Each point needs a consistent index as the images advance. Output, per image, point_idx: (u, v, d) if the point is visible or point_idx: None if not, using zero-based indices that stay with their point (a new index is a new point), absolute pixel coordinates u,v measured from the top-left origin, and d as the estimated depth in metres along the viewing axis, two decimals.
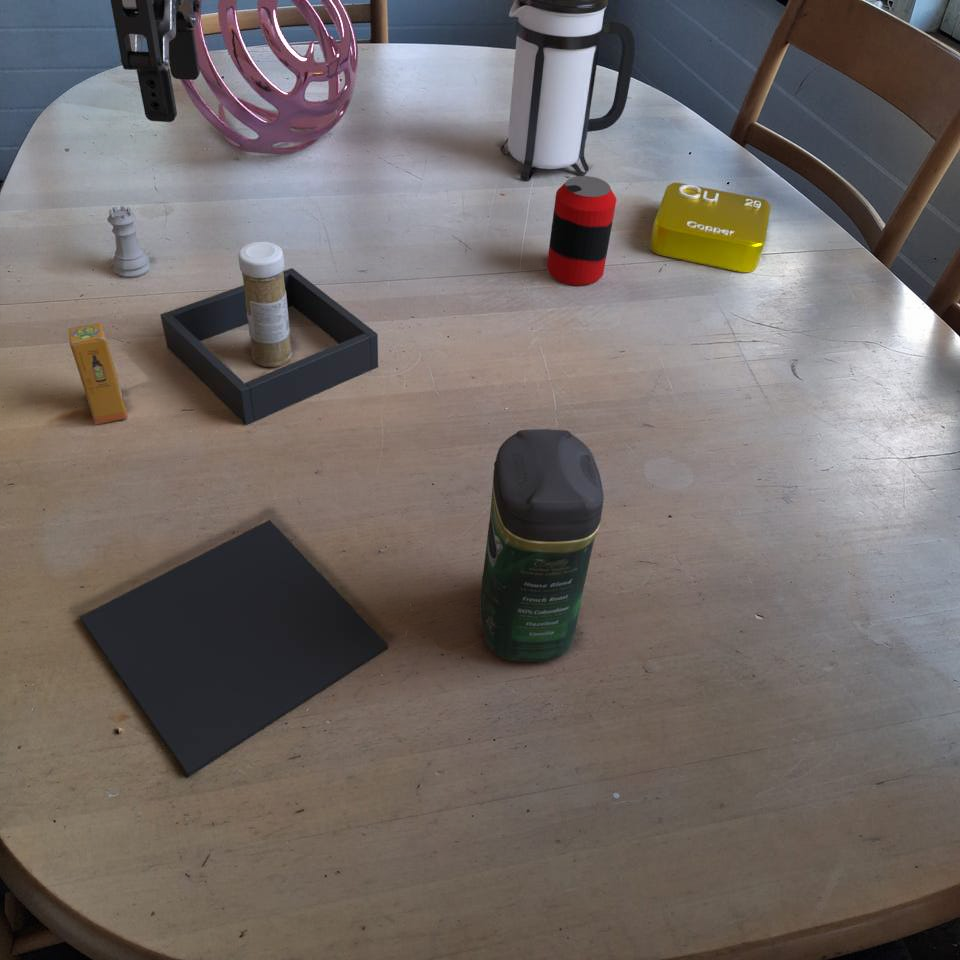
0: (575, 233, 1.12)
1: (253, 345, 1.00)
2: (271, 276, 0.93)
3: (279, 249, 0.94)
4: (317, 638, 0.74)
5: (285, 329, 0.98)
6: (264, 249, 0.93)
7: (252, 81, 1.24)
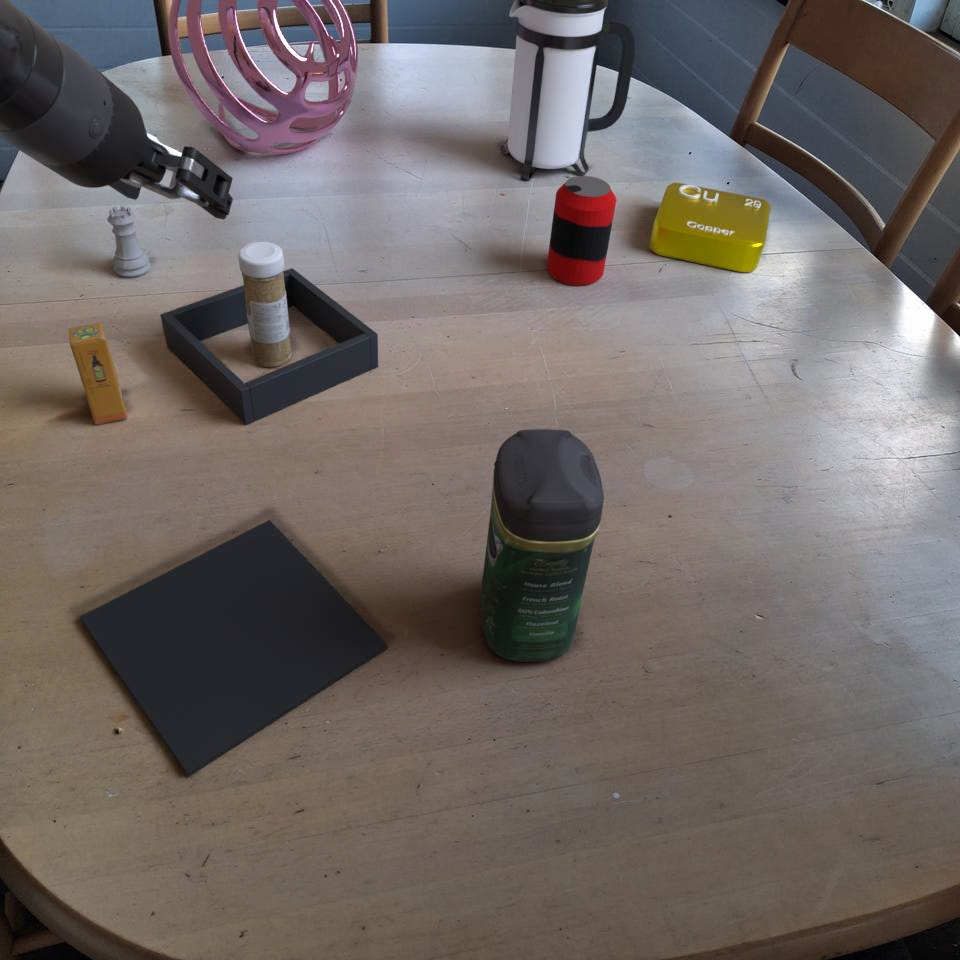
0: (575, 233, 1.12)
1: (253, 345, 1.00)
2: (271, 276, 0.93)
3: (279, 249, 0.94)
4: (317, 638, 0.74)
5: (285, 329, 0.98)
6: (264, 249, 0.93)
7: (252, 81, 1.24)
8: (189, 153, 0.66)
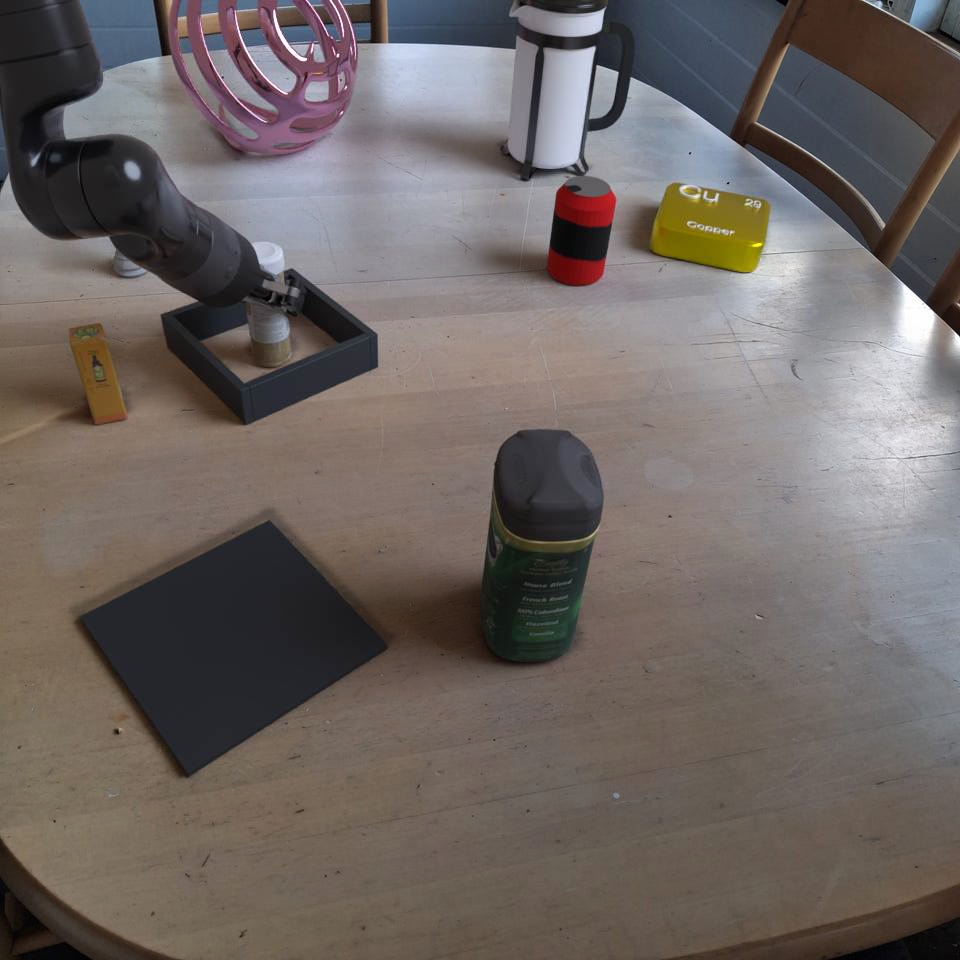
0: (575, 233, 1.12)
1: (253, 345, 1.00)
2: None
3: (279, 249, 0.94)
4: (317, 638, 0.74)
5: (285, 329, 0.98)
6: (264, 249, 0.93)
7: (252, 81, 1.24)
8: (296, 284, 0.88)
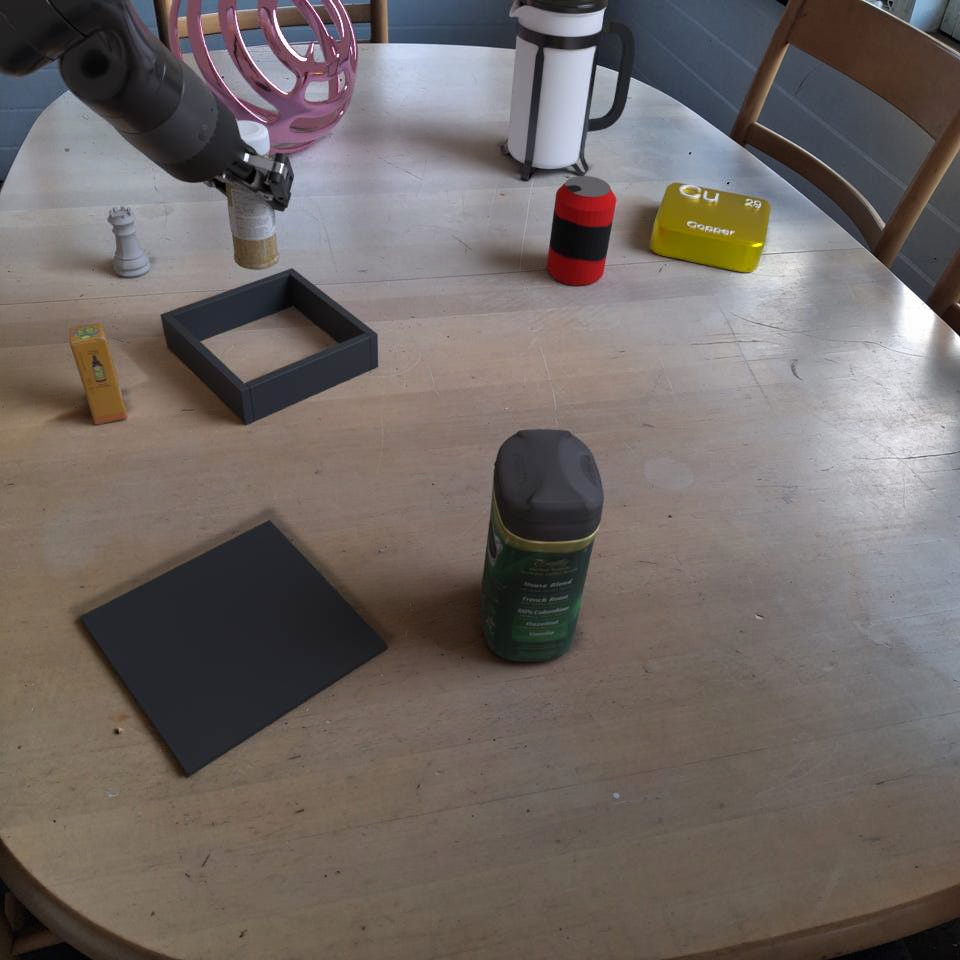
0: (575, 233, 1.12)
1: (235, 244, 0.89)
2: None
3: (264, 127, 0.83)
4: (317, 638, 0.74)
5: (271, 224, 0.87)
6: (246, 127, 0.82)
7: (252, 81, 1.24)
8: (282, 159, 0.77)
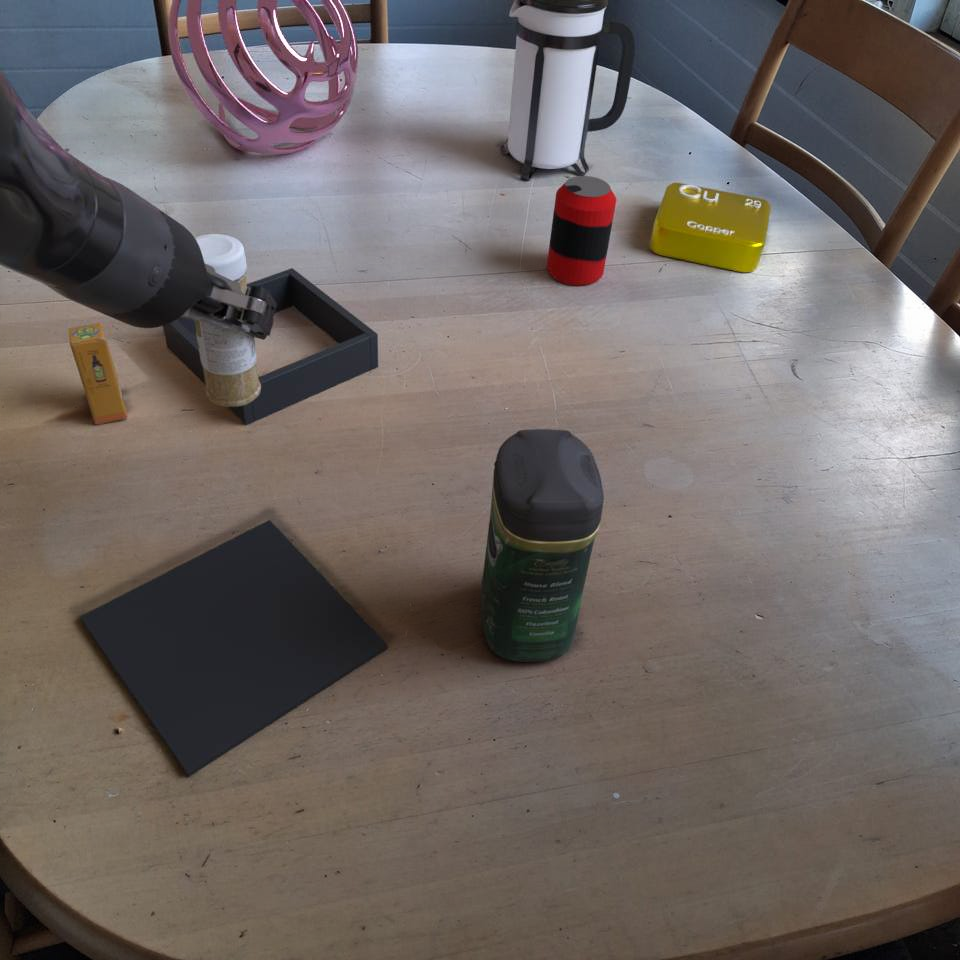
0: (575, 233, 1.12)
1: (206, 377, 0.72)
2: None
3: (239, 244, 0.67)
4: (317, 638, 0.74)
5: (250, 355, 0.71)
6: (217, 244, 0.66)
7: (252, 81, 1.24)
8: (260, 294, 0.61)
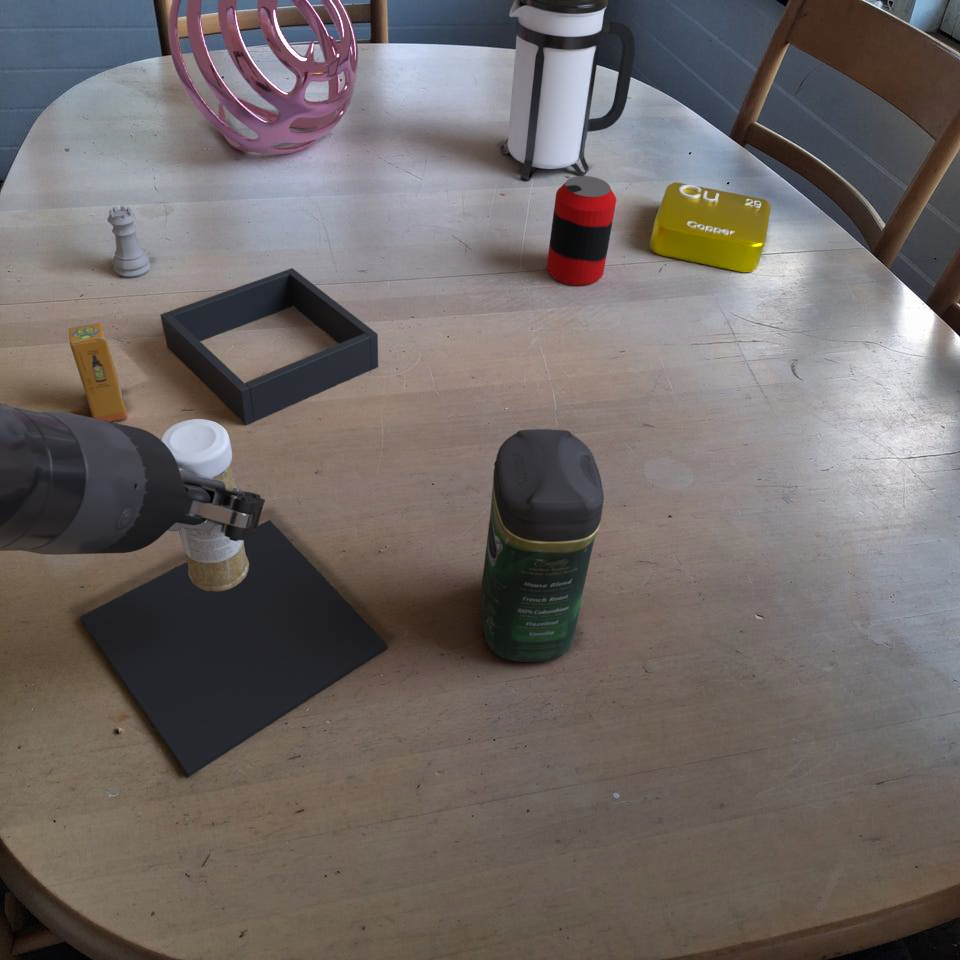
0: (575, 233, 1.12)
1: (188, 562, 0.66)
2: (210, 477, 0.60)
3: (223, 434, 0.60)
4: (317, 638, 0.74)
5: None
6: (199, 433, 0.60)
7: (252, 81, 1.24)
8: (245, 508, 0.55)
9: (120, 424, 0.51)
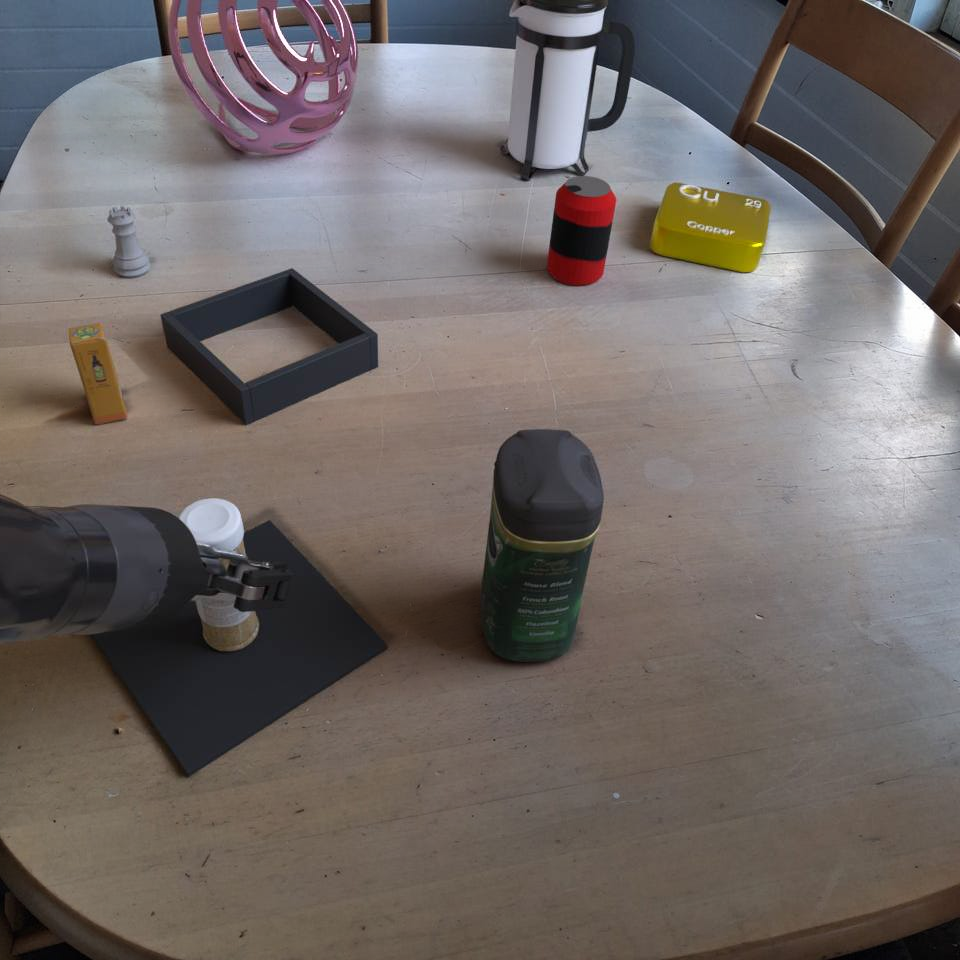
0: (575, 233, 1.12)
1: (203, 625, 0.71)
2: None
3: (236, 513, 0.65)
4: (317, 638, 0.74)
5: None
6: (213, 513, 0.65)
7: (252, 81, 1.24)
8: (250, 581, 0.59)
9: (145, 509, 0.56)
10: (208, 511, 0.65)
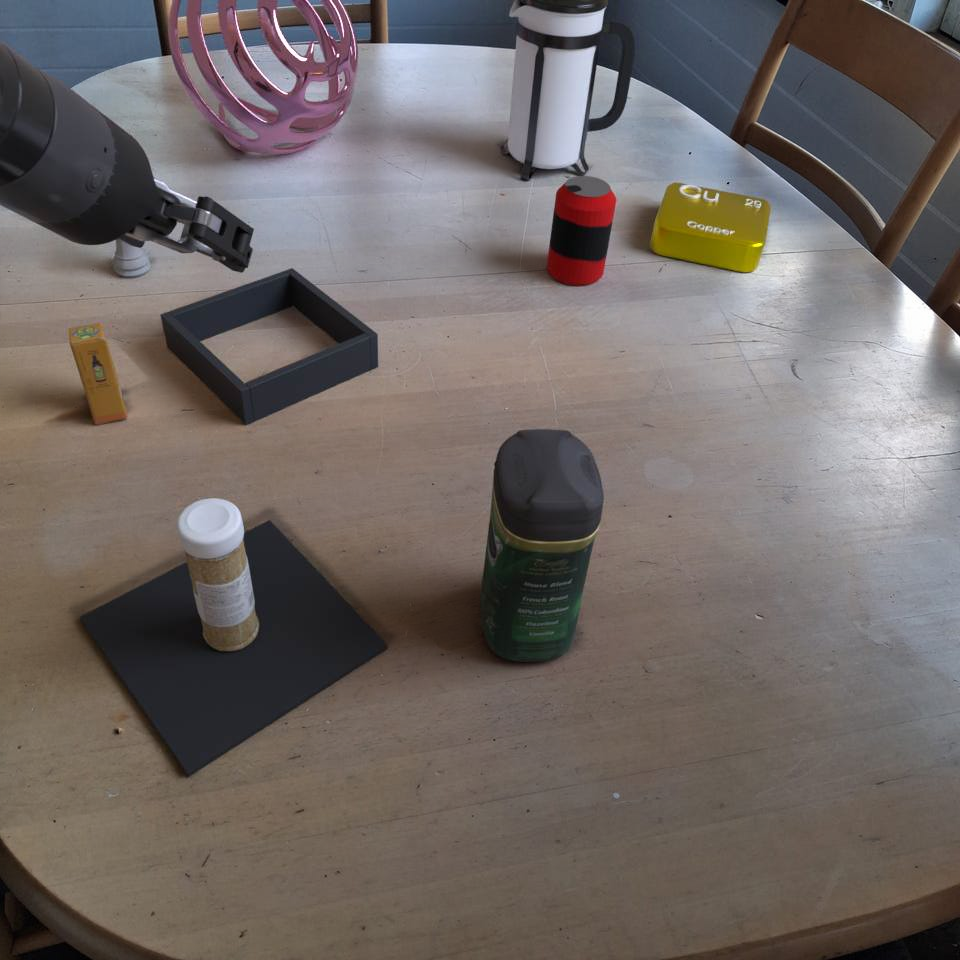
0: (575, 233, 1.12)
1: (203, 625, 0.71)
2: (224, 554, 0.65)
3: (236, 513, 0.65)
4: (317, 638, 0.74)
5: (247, 606, 0.70)
6: (214, 513, 0.65)
7: (252, 81, 1.24)
8: (205, 204, 0.56)
9: None
10: (208, 511, 0.65)
